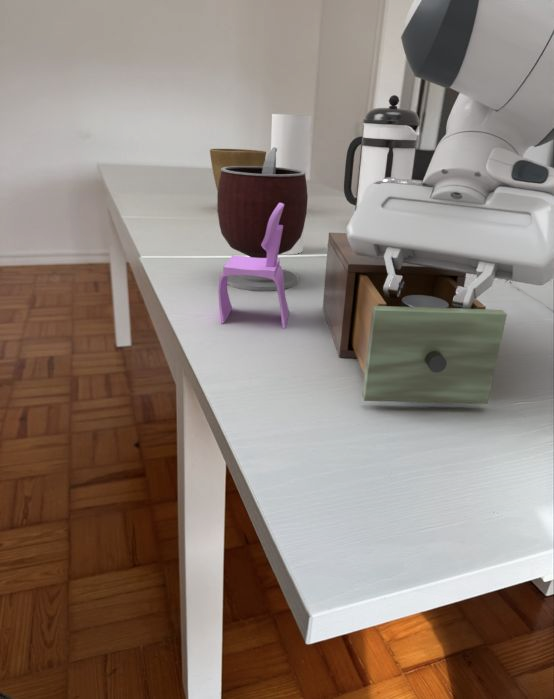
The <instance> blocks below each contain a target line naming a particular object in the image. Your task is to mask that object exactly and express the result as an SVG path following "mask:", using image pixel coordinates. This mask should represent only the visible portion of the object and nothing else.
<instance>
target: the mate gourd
mask: <svg viewBox="0 0 554 699" xmlns="http://www.w3.org/2000/svg"><path fill="white" fill-rule="evenodd" d="M276 152H277V148H276V147H273V148H272V150H271V149H270V150H269V153H268V154H267V155H266V157H265V162H264V165H263V166H230V167H223V168H221V175H220V179H219V186H218V191H217V193H216V194H217V195H216V196H217V207H216V208H217V209H216V210H217V216H218V224H219V225H218V226H219V229H220V233H221V235H222V237H223V238H224V239H225V241H226V243H227V244H228V245H229V247H230V248H231V249H233V250H235V251H237V252H239V253H241V254H244V255H245V256H247V257H253V258H267V252H266V250H265V249H263V247H262V246H261V244H262V242H263V240H264V237H265V234H266V230H267V225H268V221H269V219H270V216H271V214H272V213H273V211H274V209H275V208H276V207H277V205H278V204H279V203H283V204H284V208H283V211H282V214H281V217H280V220H279V224H278V225H283V230H282V235H281V241H280V247H279V252H278V256H279V255H283V254H282V253H284V252H287V251H289V250H291V249H292V248H293V246H294V245H295V244H296V243H297V241H298V240H299V239H300V238H301V235H302V232H303V228H304V229H305V223H306V219H307V213H308V196H309V195H308V182H307V183H306V177H305V174H306V172H305V171H302V170H296V169H289V168H279V167H276ZM282 270H283V277H284V289H285V290H286V289H290V288H293V287H294V286H296V285H297V284H298V276H297V274H295V273H294V272H292V271H291V270H287V269H284V268H282ZM227 286H230V287H232V288H236V289H239V290H240V289H241V290H248V291H257V292H258V291H259V292H271V291H278V290H277V286H276V283H275V282H274V281H273V280H272V279H269V278H264V277H258V276H251V275H228V282H227Z"/></svg>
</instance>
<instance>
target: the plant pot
mask: <svg viewBox="0 0 554 699" xmlns="http://www.w3.org/2000/svg"><path fill="white" fill-rule="evenodd" d="M209 156H210V163H211V170H212V174H213V178H214V179H213V180H214V183H215V188H216V191H217V192H218V186H219V179H220V175H221V168H223V167H230V166H263V165H264V162H265V159H266V157H267V151H266V150H259V149H258V150H257V149H247V148H246V149H245V148H243V149H242V148H210V149H209Z"/></svg>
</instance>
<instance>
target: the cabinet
mask: <svg viewBox="0 0 554 699" xmlns="http://www.w3.org/2000/svg"><path fill="white" fill-rule="evenodd" d="M327 239H328V240H327V250H326V262H325V276H324V286H323V287H324V288H323V298H322V311H323V313H324V316H325V320H326V322H327V325H328V329H329V331H330V334H331V338H332V340H333V343H334V347H335V349H336V352H337V355H338V358H342V359H343V358H344V359H346V358H347V359H348V358H349V359H357V356H356V354H355V351H354V349H353V347H352V344H351V342H350V339H349V333H350V324H351V314H352V304H353V295H354V285H355V275H356V273H385V274H388V273H387V268H386V264H385V259H379V258H373V257H368V256H361V255H357V254H355V253H354V251H353V250H352V248H351V246H350V244H349V241H348V238H347V235H346V232H328V238H327ZM355 272H356V273H355ZM395 274H415V275H444V276H450V277H451V278H452V279H453V280H454V281H456V282H457V283H458V284H459V285H460V286H462V287H465V284H466V278H467V273H462V272H456V271H450V270H445V269H439V268H433V267H427V266H421V265H415V264H409V263H403V264H402V266H401V269H399V270H398V269H395Z"/></svg>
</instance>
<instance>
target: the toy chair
mask: <svg viewBox="0 0 554 699" xmlns="http://www.w3.org/2000/svg"><path fill="white" fill-rule="evenodd" d="M283 208H284V204H283V203H279V204H278V205H277V207H276V208H275V209H274V211H273V213H272V214H271V216H270V219H269V221H268V225H267V230H266V234H265V237H264V240H263V242H262V244H261V246H262V247H263V249H265V250H266V252H267V258H253V257H250V256H246V255H234V254H232V255H231V256H230V258H229V260H228V261H227V262H226V263H225V264H224V266H223V267H222V274H221V276H220V277H219V280H218V291H217V292H218V308H219V317H220V324H225V322H226V321H227V319H228V317H229V316H230V313H231V311H232V309H233V306H232V302H231V300H230V295H229V291H228V285H227V282H228V275H251V276H258V277H264V278H269V279H272V280H273V281H274V282H275V283H276V286H277V290H276V291H277V296H278V302H279V308H280V309H279V310H280V317H281V326H282V329H286V328H287V323H288V320H289V315H290V309H289V305H288V302H287V296H286V291H285V290H286V289H284V277H283V270H282V269H283V267H282V266H281V264H280V263H281V260H280V259H281V258H278V257H279V255H278V252H279V247H280V241H281V235H282V230H283V225H278V224H279V220H280V217H281V214H282V211H283Z"/></svg>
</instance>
